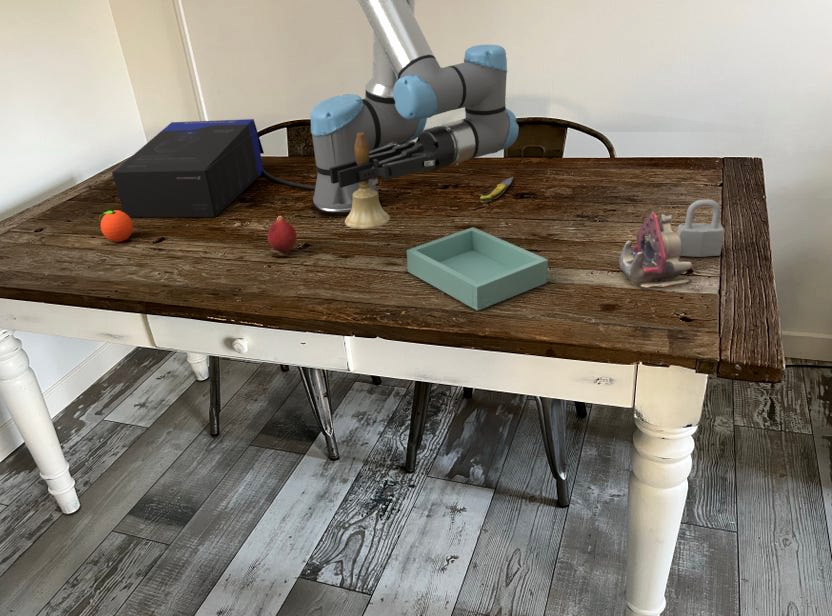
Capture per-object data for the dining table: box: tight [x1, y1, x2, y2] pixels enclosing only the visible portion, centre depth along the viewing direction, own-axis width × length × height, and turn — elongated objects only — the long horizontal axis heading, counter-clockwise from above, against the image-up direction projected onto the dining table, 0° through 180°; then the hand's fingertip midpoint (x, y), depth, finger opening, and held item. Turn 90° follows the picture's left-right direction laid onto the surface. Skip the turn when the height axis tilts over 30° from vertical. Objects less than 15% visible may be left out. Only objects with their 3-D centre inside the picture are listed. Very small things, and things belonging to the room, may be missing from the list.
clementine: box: [98, 209, 134, 243], centre depth 166 cm, size 8×7×7 cm
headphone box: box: [111, 118, 265, 218], centre depth 188 cm, size 25×35×14 cm
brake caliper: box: [618, 211, 693, 289], centre depth 126 cm, size 11×11×12 cm
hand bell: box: [344, 132, 391, 230], centre depth 132 cm, size 8×8×16 cm
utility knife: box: [479, 176, 514, 203], centre depth 170 cm, size 16×1×3 cm
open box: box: [406, 226, 549, 312], centre depth 133 cm, size 20×15×4 cm
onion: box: [267, 215, 298, 255], centre depth 150 cm, size 6×6×8 cm
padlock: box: [676, 198, 725, 258], centre depth 130 cm, size 7×4×10 cm, turn 78°
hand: (335, 177), depth 129 cm, fingers closed on hand bell, 2 cm apart
